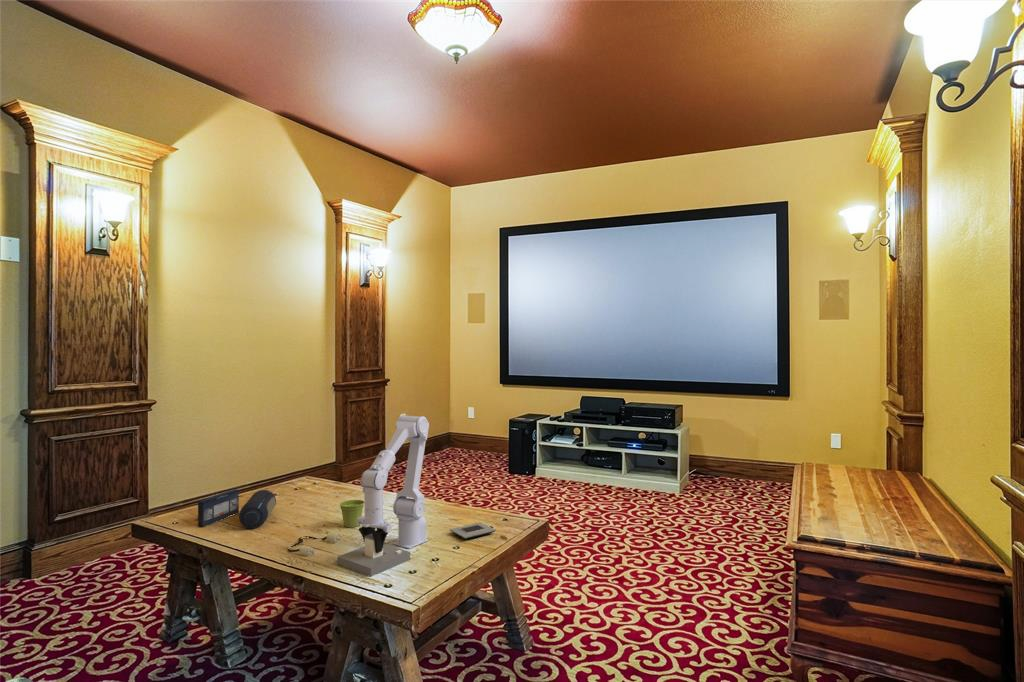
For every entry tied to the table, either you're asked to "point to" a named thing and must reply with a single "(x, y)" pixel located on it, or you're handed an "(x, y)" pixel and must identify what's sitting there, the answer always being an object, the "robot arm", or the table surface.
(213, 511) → the vhs cassette tape
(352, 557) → the socket block
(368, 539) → the plug
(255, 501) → the portable speaker
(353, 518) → the plant pot
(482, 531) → the electrical outlet
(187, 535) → the table surface
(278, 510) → the table surface
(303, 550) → the cable
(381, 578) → the table surface
